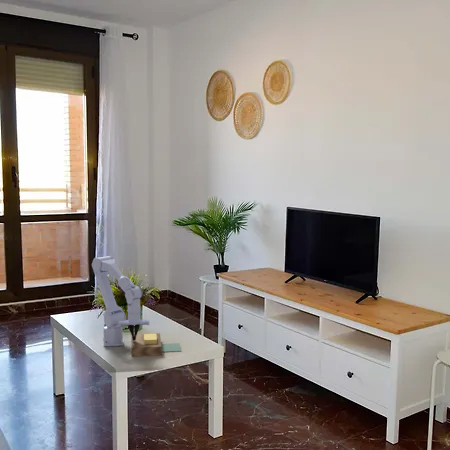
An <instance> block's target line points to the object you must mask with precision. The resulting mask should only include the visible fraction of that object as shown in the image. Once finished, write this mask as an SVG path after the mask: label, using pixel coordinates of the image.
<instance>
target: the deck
mask: <svg viewBox="0 0 450 450" xmlns="http://www.w3.org/2000/svg"><path fill="white" fill-rule="evenodd" d="M144 334H145V333H137V335H136V340H135V341H133V339H132V338H131V341H130V342H131V343H130V345H131V347H130V350H131V351H130V352H131V354H130V357H142V356H143V357H145V356H147V357H149V356H162V353H163V352H162V346H161V344H162V341H161V333H160V332H159V333H158V332H157V333H154V334H156V336H157V344H144Z"/></svg>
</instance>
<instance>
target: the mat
mask: <svg viewBox="0 0 450 450" xmlns="http://www.w3.org/2000/svg"><path fill="white" fill-rule="evenodd" d="M180 344H181V343H177V342H176V343H175V342H173V343H161V346H162V353H176V352H182V349H181V348H182V347H181V345H180Z"/></svg>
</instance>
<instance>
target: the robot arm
mask: <svg viewBox="0 0 450 450" xmlns="http://www.w3.org/2000/svg"><path fill="white" fill-rule="evenodd" d="M116 262H117V261H116V259H115V258H114V256H112V255H108V256H100V257H94V258H93V260H92V263H91V267H92V270H93V273H94V275H95V278H96V282H97V284H98V288H99V290H100V294H101V296H102V300H103V303H104V305H105V306H104V307H105V310H104V312H103V321H104V324H105V325H106V326H105V327H104V326H103V337H102V338H103V339H102V341H103V347H115V346H116V347H117V346H121V347H122V346H124V345H125V344H124V343H125V340H124V337H123V336H124V334H123V333H124V332H123V330H124V329H123V326H128V330H129V332H130V335H131V340H132V339H133V341H135V340H136V335H137V334H138V333H139V330H140V328H141V327H140V326H145V325H146V326H150V320H149V319H141V298H142V297H143V289H142V287H141V286H138V285H135V284H134V282H133V281H132V280H131V279H130V278H129V276H126V275H124V274H123V272H122V271H121V270H120V268H119V267H118V265H117V263H116ZM109 274H110V275H112V276H113V277H114V278H115V279H116V280H117V285H118V286H119V287H120V288H121V289H122V291H123V292H124V296H125V299H126V303H127V315H126V313H125V312H124V310H123V308H122V307H121V306H119V305H118V304H117V302H116V299H115V296H114V292H113V289H112V287H111V283H110V281H109V278H108V275H109ZM126 319H128V320H126ZM134 325H135V326H134Z"/></svg>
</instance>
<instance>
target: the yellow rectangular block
mask: <svg viewBox="0 0 450 450" xmlns="http://www.w3.org/2000/svg"><path fill="white" fill-rule="evenodd" d="M143 334H144V344H157V336H156V334H155V333H143Z"/></svg>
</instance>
